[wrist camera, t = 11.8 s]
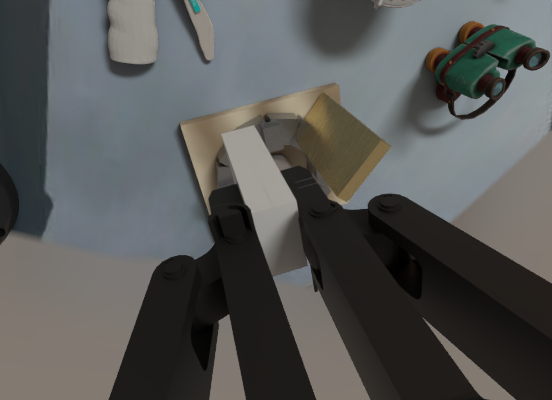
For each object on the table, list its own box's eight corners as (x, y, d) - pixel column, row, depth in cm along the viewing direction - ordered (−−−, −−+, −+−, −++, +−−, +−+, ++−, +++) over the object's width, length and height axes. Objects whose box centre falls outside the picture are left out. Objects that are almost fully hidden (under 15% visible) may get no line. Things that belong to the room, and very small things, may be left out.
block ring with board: (287, 233, 53) (323, 311, 41) (193, 192, 46) (204, 270, 35) (370, 124, 47) (438, 178, 36) (276, 60, 41) (323, 100, 29)
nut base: (216, 235, 52) (221, 256, 48) (179, 122, 43) (181, 137, 40) (345, 197, 54) (358, 215, 50) (335, 82, 45) (350, 93, 42)
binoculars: (496, 153, 44) (475, 87, 38) (438, 115, 52) (413, 55, 46) (568, 101, 43) (559, 23, 36) (497, 70, 51) (479, 2, 44)
